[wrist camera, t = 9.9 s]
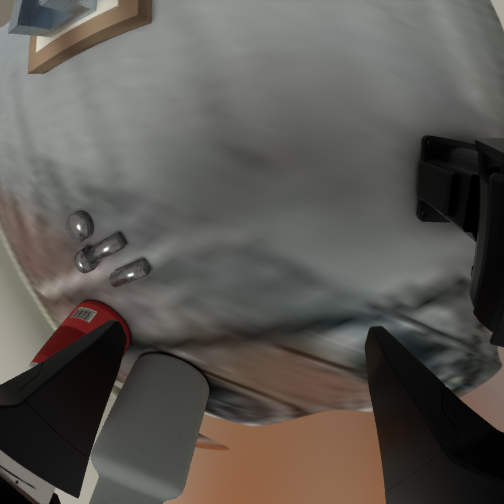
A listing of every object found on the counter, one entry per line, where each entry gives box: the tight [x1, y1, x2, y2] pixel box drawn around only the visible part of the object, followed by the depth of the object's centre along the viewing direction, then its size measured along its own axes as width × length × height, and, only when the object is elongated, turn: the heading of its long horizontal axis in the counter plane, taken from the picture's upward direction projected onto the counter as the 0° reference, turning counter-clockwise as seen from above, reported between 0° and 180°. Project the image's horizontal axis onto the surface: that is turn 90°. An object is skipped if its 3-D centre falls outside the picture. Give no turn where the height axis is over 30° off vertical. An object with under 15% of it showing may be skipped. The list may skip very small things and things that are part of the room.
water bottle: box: [89, 354, 209, 504], centre depth 18 cm, size 10×10×28 cm
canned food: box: [28, 301, 130, 370], centre depth 22 cm, size 8×8×11 cm
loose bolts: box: [66, 211, 150, 287], centre depth 21 cm, size 6×8×2 cm
